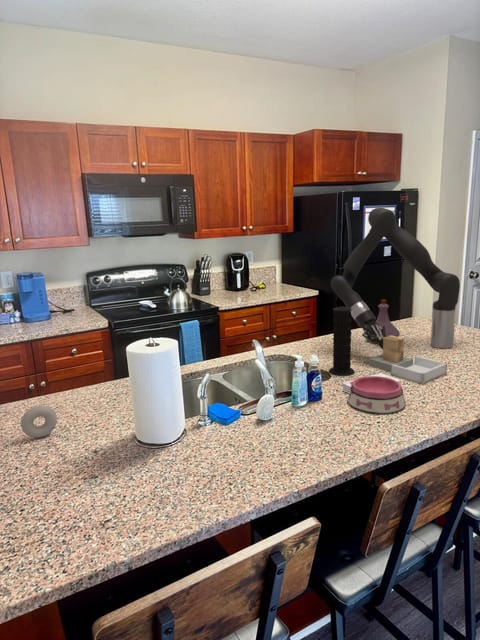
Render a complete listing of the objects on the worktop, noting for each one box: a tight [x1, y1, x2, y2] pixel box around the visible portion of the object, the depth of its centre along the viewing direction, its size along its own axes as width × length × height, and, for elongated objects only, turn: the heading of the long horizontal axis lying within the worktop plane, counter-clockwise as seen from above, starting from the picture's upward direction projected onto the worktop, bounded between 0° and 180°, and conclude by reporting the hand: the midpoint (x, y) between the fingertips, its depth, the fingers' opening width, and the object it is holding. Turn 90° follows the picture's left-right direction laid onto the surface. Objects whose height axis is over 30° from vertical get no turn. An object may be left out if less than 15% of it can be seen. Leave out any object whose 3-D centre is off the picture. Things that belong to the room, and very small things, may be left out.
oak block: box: [382, 335, 405, 363], centre depth 176 cm, size 5×6×9 cm
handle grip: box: [328, 306, 356, 377], centre depth 172 cm, size 10×26×10 cm
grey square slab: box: [368, 353, 414, 373], centre depth 178 cm, size 12×12×3 cm
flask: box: [375, 299, 401, 337], centre depth 210 cm, size 16×16×20 cm
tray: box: [390, 355, 448, 385], centre depth 168 cm, size 16×13×4 cm
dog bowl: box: [346, 375, 407, 416], centre depth 146 cm, size 18×19×7 cm
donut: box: [20, 404, 58, 439], centre depth 132 cm, size 10×4×10 cm, turn 122°
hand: (385, 348), depth 179 cm, fingers closed
